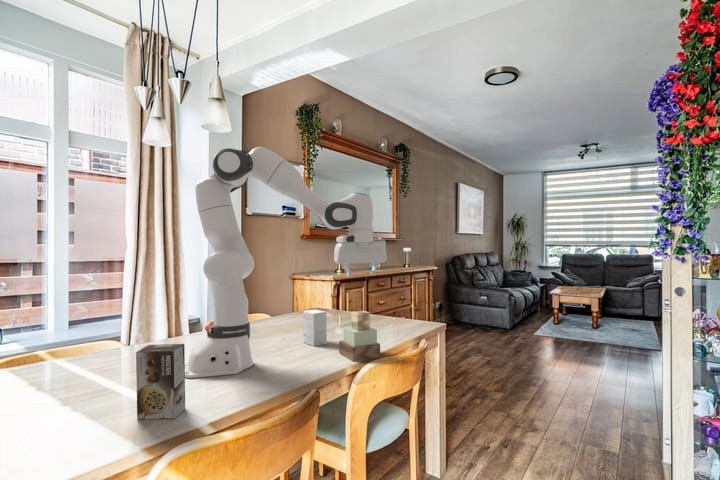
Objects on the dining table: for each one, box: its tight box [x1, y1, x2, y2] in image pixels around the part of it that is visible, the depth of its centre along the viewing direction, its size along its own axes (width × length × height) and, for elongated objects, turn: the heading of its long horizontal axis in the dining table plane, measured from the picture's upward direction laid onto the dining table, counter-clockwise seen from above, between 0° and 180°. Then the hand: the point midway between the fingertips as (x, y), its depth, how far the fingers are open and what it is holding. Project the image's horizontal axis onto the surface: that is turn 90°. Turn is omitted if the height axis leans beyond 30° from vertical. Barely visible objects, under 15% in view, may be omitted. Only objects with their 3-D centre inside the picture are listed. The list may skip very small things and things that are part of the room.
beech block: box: [350, 310, 371, 331], centre depth 142 cm, size 5×5×6 cm
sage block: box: [343, 326, 378, 347], centre depth 142 cm, size 9×9×5 cm
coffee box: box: [135, 343, 186, 420], centre depth 94 cm, size 9×6×16 cm
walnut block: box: [338, 339, 381, 362], centre depth 142 cm, size 11×11×5 cm
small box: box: [302, 309, 328, 347], centre depth 159 cm, size 8×6×13 cm
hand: (361, 275), depth 142 cm, fingers open, 8 cm apart
